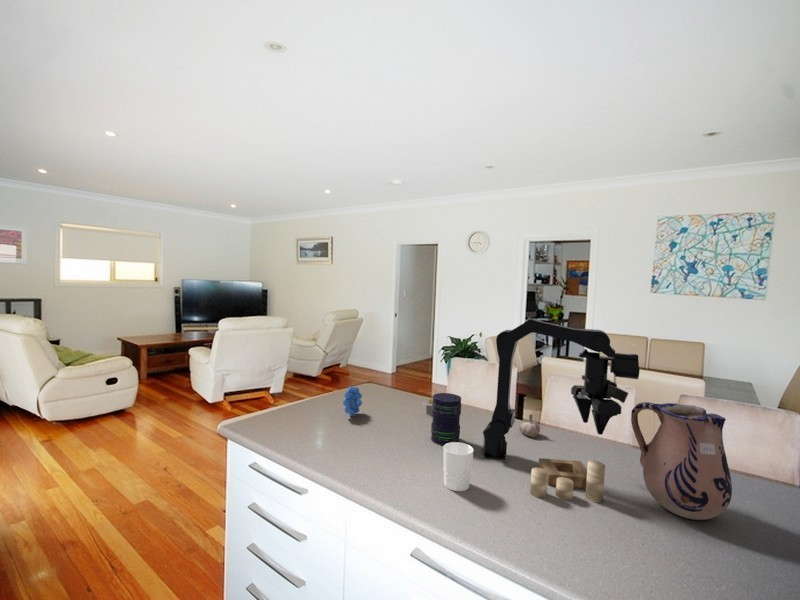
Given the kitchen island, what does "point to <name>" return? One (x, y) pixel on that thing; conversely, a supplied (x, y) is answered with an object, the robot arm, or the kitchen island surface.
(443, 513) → the kitchen island surface
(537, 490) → the medium dowel
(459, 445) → the white cup
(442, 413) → the storage jar
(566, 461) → the collar block
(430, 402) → the platform
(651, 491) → the ceramic pitcher
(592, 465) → the long dowel
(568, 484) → the stub dowel
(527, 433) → the garlic bulb
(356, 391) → the grapes
